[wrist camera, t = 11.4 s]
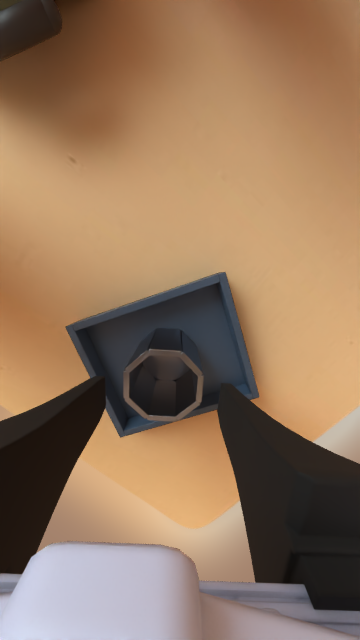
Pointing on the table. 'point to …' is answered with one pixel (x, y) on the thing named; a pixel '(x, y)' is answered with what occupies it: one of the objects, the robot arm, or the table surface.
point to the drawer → (26, 24)
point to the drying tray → (174, 313)
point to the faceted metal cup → (164, 376)
